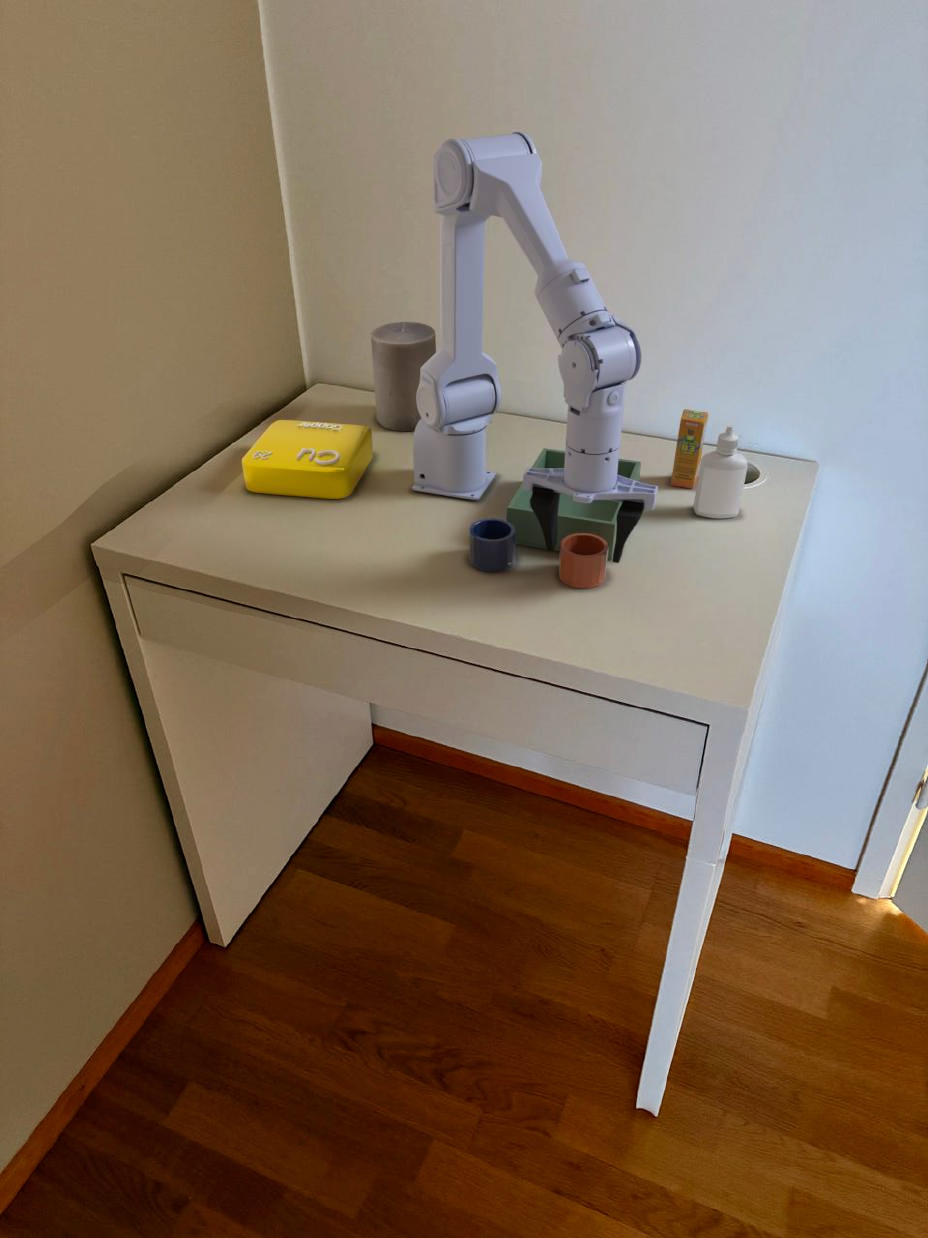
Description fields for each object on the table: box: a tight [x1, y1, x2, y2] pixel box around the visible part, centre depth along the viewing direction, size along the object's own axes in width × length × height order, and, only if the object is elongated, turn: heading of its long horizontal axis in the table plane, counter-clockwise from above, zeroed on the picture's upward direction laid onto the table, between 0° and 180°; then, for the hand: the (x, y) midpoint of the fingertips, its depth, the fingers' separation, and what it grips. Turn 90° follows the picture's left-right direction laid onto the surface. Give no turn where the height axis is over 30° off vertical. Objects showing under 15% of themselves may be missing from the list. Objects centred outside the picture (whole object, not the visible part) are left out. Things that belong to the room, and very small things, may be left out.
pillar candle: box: [369, 321, 437, 432], centre depth 139 cm, size 10×10×15 cm
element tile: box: [241, 419, 374, 500], centre depth 127 cm, size 15×15×5 cm
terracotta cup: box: [558, 533, 609, 590], centre depth 105 cm, size 5×5×4 cm
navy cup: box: [468, 517, 516, 573], centre depth 108 cm, size 5×5×4 cm
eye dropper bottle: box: [693, 424, 748, 519], centre depth 115 cm, size 4×6×12 cm
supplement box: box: [670, 408, 709, 489], centre depth 122 cm, size 3×3×10 cm
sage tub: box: [505, 447, 642, 561], centre depth 116 cm, size 13×17×5 cm
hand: (584, 552), depth 105 cm, fingers open, 7 cm apart
